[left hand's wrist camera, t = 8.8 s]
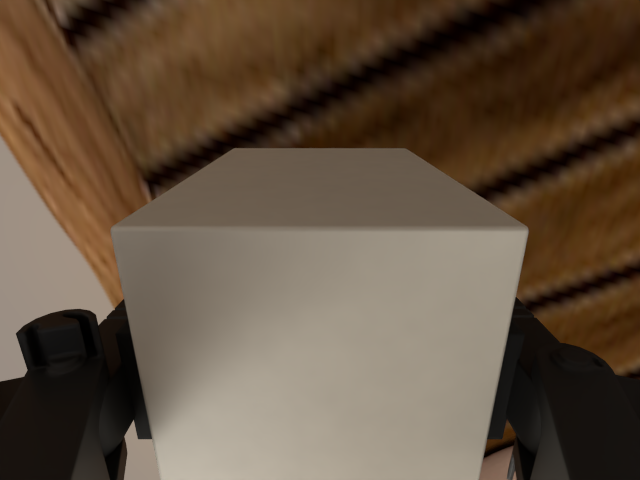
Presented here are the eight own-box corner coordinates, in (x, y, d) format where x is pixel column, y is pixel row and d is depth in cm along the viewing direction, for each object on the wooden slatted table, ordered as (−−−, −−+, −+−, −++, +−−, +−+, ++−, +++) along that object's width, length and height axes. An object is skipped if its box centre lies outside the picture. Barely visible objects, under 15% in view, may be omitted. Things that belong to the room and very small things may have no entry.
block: (233, 147, 14) (106, 226, 6) (406, 147, 14) (532, 227, 6) (246, 323, 17) (173, 552, 9) (393, 323, 17) (465, 552, 9)
